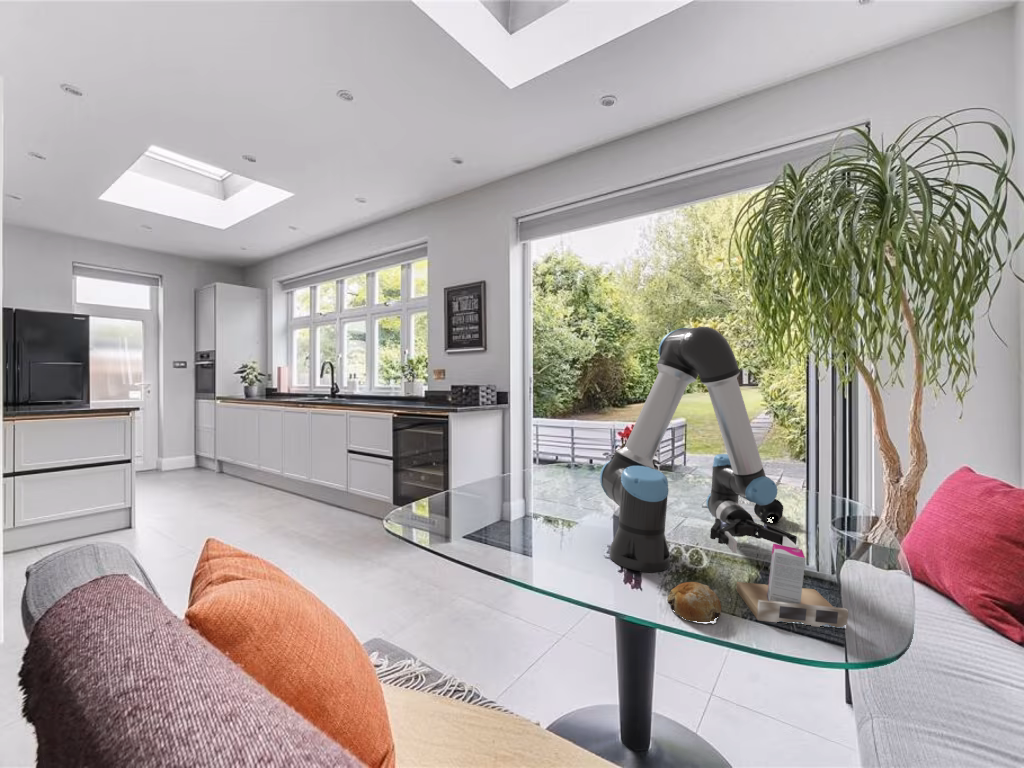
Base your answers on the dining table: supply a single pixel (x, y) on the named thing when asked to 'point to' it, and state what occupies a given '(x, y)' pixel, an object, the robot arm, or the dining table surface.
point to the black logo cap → (770, 511)
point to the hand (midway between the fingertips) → (765, 550)
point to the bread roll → (695, 602)
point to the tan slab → (791, 607)
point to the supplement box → (786, 574)
